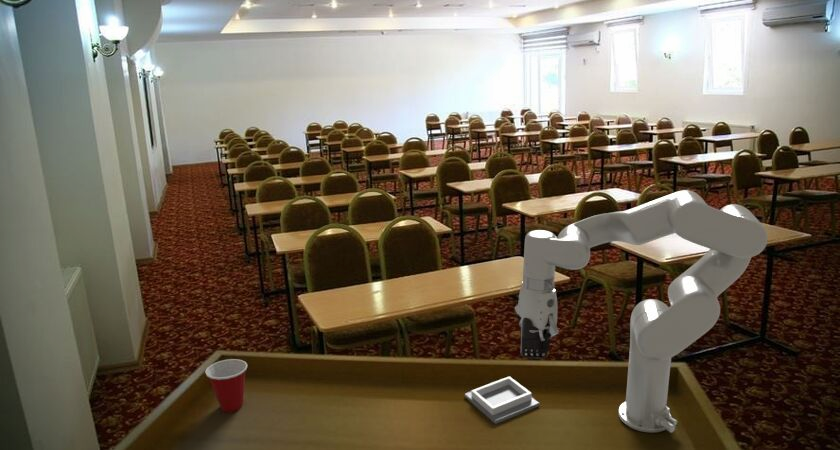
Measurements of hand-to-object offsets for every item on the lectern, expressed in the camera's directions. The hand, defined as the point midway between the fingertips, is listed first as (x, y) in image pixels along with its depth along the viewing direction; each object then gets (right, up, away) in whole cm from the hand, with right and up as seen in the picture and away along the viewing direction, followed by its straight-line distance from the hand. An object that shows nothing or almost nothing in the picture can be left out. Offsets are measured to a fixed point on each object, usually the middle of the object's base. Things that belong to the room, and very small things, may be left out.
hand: (534, 345), depth 157 cm
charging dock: (-7, -17, +9) cm, 20 cm away
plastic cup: (-80, -19, +12) cm, 83 cm away
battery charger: (0, -3, +1) cm, 3 cm away
